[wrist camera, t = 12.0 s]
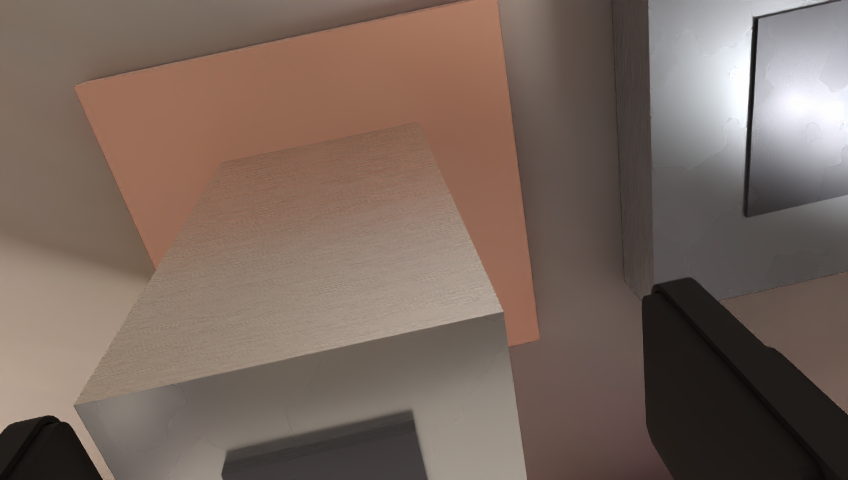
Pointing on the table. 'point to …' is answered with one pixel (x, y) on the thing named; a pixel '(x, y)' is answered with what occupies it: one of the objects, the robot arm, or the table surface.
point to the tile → (330, 124)
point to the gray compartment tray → (732, 141)
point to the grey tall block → (314, 331)
